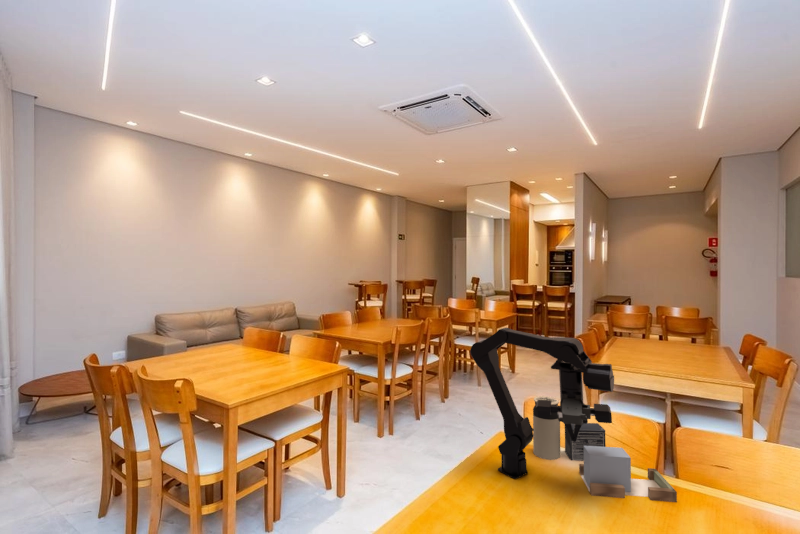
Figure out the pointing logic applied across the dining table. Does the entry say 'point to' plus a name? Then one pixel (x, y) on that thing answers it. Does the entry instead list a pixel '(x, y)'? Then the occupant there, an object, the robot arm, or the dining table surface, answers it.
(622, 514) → the dining table surface
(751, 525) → the dining table surface
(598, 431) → the small box
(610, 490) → the brown piece
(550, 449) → the travel mug
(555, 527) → the dining table surface
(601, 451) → the block
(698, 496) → the dining table surface
